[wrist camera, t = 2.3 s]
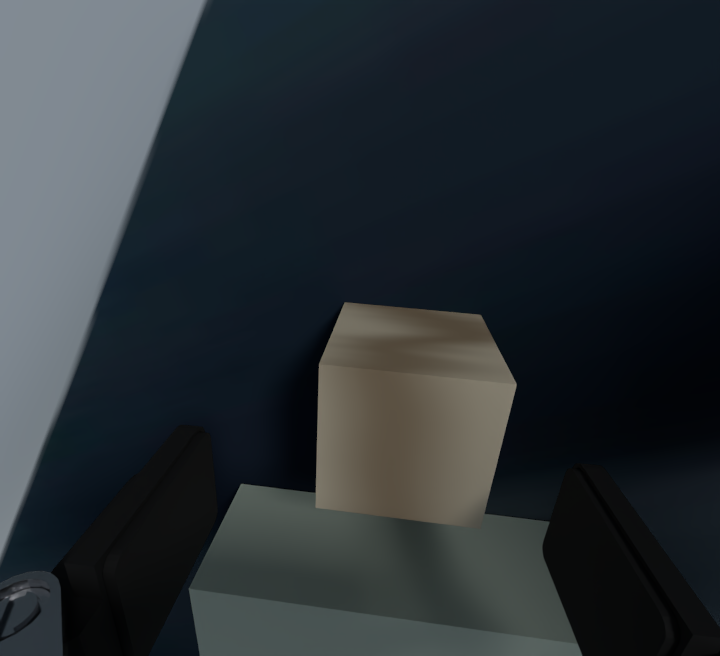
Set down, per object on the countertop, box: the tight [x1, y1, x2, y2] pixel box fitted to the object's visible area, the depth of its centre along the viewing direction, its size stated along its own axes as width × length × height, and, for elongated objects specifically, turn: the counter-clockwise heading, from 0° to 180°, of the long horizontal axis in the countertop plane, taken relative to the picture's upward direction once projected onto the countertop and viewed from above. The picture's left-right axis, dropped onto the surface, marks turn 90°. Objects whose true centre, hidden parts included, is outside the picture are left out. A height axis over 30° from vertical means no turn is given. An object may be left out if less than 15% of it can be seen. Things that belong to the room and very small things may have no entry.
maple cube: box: [315, 303, 517, 529], centre depth 13 cm, size 5×5×5 cm
